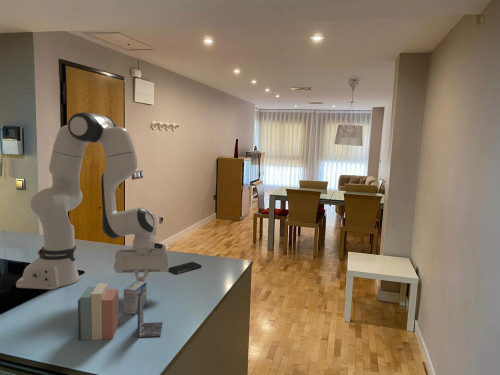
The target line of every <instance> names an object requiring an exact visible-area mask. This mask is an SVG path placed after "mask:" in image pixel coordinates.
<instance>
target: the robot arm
mask: <svg viewBox="0 0 500 375" xmlns="http://www.w3.org/2000/svg"><path fill="white" fill-rule="evenodd" d="M89 143H94V144H96V143H98V144H100V145H101V146H102V148H103V150H104V155H105V160H106V161H105V162H106V165H105V166H106V167H105V171H104V172H103V173H102V174H101V179H100V180H101V182H100V183H101V184H100V187H101V188H100V191H101V205H102V218H101V219H102V220H101V221H102V222H101V228H102V231H103V232H102V233H103V234H105V235H106V236H107V237H109V238H111V239H118V238H122V237H125V236H129V235H134V238H133V241H132V248H131V249H120V250H117V251H116V252H115V255H114V256H115V257H114V258H115V261H114V265H113V270H114V272H115V273H116V274H131V273H132V274H134V276H135V278H136V281H141V282H146V279H147V277H148V276H149V273H166V272H167V273H168V272H169V271H168V270H169V268H170V264H169V263H170V262H169V254H168V253H167V247H166V245H165V244H164V243H159V242H158V241H156V237H157V226H158V222H157V216H156V214H154V213H153V212H152V211H149V210H147V209H146V208H144V207H136V208H131V209H128V210H123V211H118V210H117V202H116V201H117V198H116V191H117V188H118V187H119V185H120V184H121V183H123V182H124V181H125V180H127V179H129V178H130V177H131V176H132V175H133V174H135V172H136V170H137V167H138V158H137V154H136V150H135V146H134V143H133V140H132V137H131V134H130V133H129V130H127V129H126V127H123V126H118V125H117V124H116V122H115V121H114V120H113V119H112V118H110V117H109V116H107V115H106V116H105V115H102V114H100V113H89V112H83V111H82V112H77V113H75V114H73V115H72V116H70V118H69V119H68V123H67V124H66V125H63V126H61V127H60V128H59V130H58V133H57V134H56V136H55V140H54V143H53V145H52V146H53V148H52V150H51V157H50V161H49V166H48V172H49V173H50V174H51V176H52V178H51V179H52V185H51V187H47V188H43V189H42V190H40V191H38V192H37V193H35V194H34V195H33V196H32V197H31V199H30V208H31V210H32V212H33V213H34V214H35V215H36V216H37V217H38V218H39V221H40V223H41V226H42V233H43V246H41V248H40V249H39V250H38V251H37V255H38V256H39V257H37V258H36V259H35V260H33V261H31V263H30V264H28V265H27V266H26V267H25V268H24V269H23V273H22V277H20V278H19V279H18V280H17V281H16V282H15V287H16V288H19V289H36V290H37V289H38V290H56V289H59V288H61V287H64V286H70V285H72V284H74V283H76V282H78V281H79V280H80V279H81V278H80V274H79V272H78V267H77V262H76V261H77V260H76V259H77V246H76V244H75V242H76V241H75V238H76V237H75V226H74V225H73V224H72V223H71V221H70V219H69V215H68V214H69V211H72V210H74V209H76V208H77V207H78V206H79V205H80V204H81V203H82V201H83V199H84V198H83V192H82V189H81V183H80V180H81V178H80V177H81V170H82V164H83V159H84V155H85V150H86V147H87V146H88V144H89ZM140 273H144V275H143V276H139V274H140Z"/></svg>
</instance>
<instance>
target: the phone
mask: <svg viewBox="0 0 500 375" xmlns="http://www.w3.org/2000/svg"><path fill="white" fill-rule="evenodd" d="M202 267H203V266H202V264H200V263H196V262H195V261H190V262H186V263H182V264H178V265H175V266H169V270H168V271H167V272H170V273H172V274H174V275H179V274H183V273H187V272H190V271H194V270H197V269H201V268H202Z"/></svg>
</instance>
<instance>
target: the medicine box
mask: <svg viewBox="0 0 500 375" xmlns="http://www.w3.org/2000/svg"><path fill="white" fill-rule="evenodd" d="M141 288H143V308H144V307H146V306H147V303H148V302H147V282H146V281H145V282H141V281H134V282H133V283H131V284H129V285H128V286H127V287H126V288H124V289H123V313H124V314H130V315H138V297H139V294H140V291H141Z"/></svg>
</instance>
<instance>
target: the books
mask: <svg viewBox="0 0 500 375" xmlns="http://www.w3.org/2000/svg"><path fill="white" fill-rule="evenodd" d="M79 299H80V317H81V340H80V341H93V340H94V341H96V340H113V339H114V337H115V334H116V332H117V329H118V327H119V288H110V289H109V283H108V282H106V283H105V282H104V283H103V282H101V283H99V282H98V283H97V284H96V286H95V285H94V286H87V287H86V289H85V290H84V291H83V293H82V295H81V296H80V297H79Z"/></svg>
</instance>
